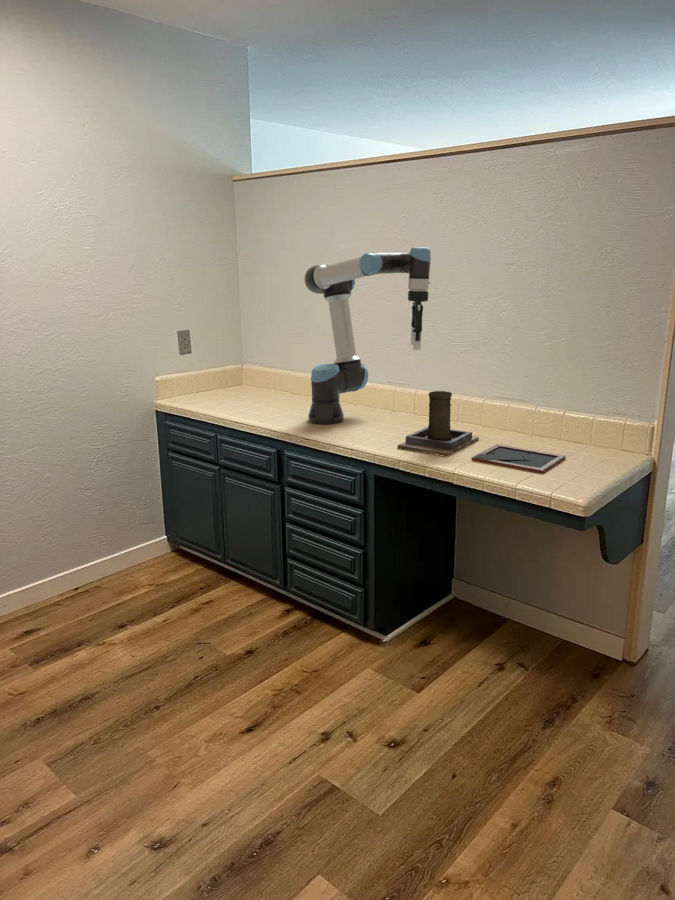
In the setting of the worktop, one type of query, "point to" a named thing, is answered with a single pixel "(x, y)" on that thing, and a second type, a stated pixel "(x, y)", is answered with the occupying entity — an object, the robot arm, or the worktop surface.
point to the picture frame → (519, 458)
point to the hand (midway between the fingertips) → (415, 347)
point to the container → (439, 416)
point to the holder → (438, 442)
